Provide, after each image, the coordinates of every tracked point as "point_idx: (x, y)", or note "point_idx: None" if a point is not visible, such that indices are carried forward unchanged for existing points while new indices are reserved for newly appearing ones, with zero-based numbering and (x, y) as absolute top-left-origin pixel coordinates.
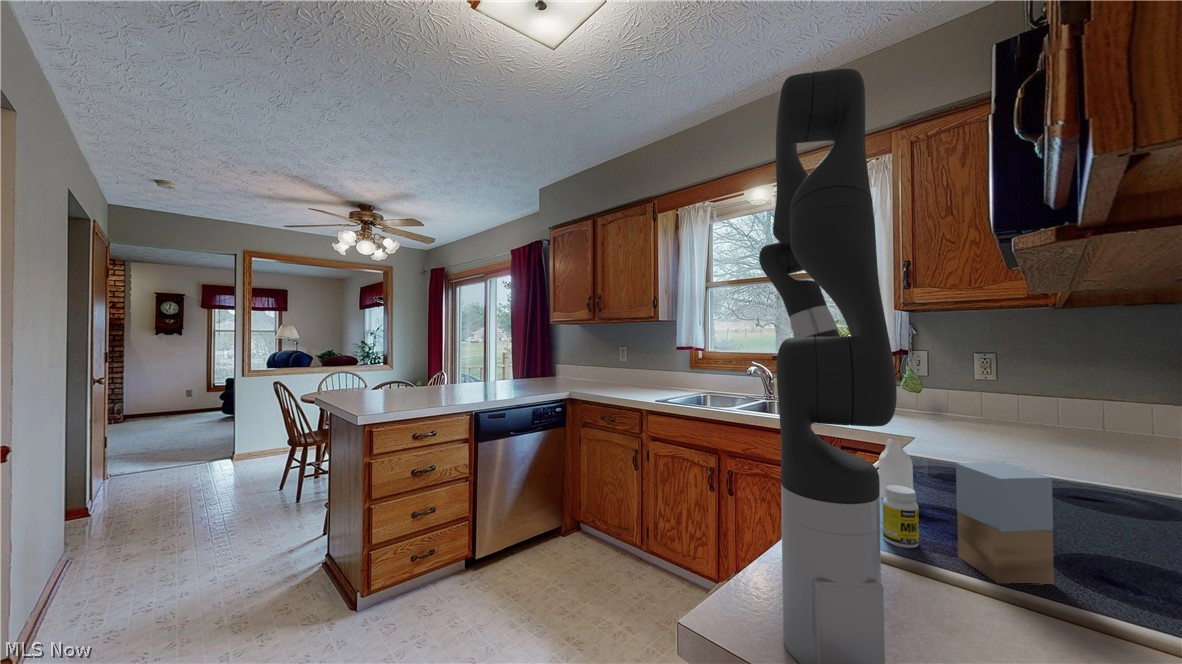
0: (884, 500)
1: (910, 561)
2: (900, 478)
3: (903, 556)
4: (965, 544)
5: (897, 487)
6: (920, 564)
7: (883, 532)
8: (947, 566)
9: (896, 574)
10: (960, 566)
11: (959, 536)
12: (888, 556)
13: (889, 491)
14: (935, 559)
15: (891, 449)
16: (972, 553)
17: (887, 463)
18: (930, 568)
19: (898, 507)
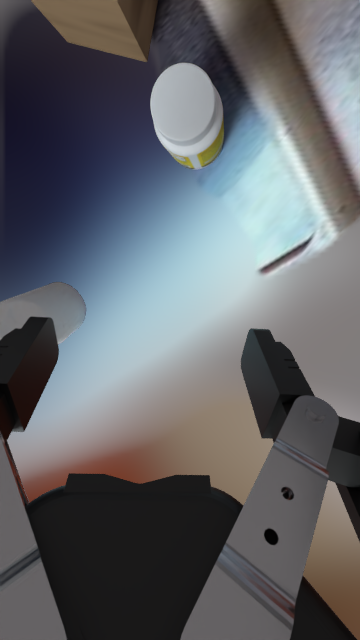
0: (215, 131)
1: (245, 58)
2: (46, 296)
3: (240, 80)
4: (142, 18)
5: (177, 119)
6: (237, 43)
7: (219, 151)
8: (197, 27)
9: (315, 9)
10: (174, 23)
11: (136, 34)
12: (267, 85)
13: (215, 102)
14: (194, 58)
15: None
16: (148, 2)
17: None
18: (233, 24)
19: (214, 87)
